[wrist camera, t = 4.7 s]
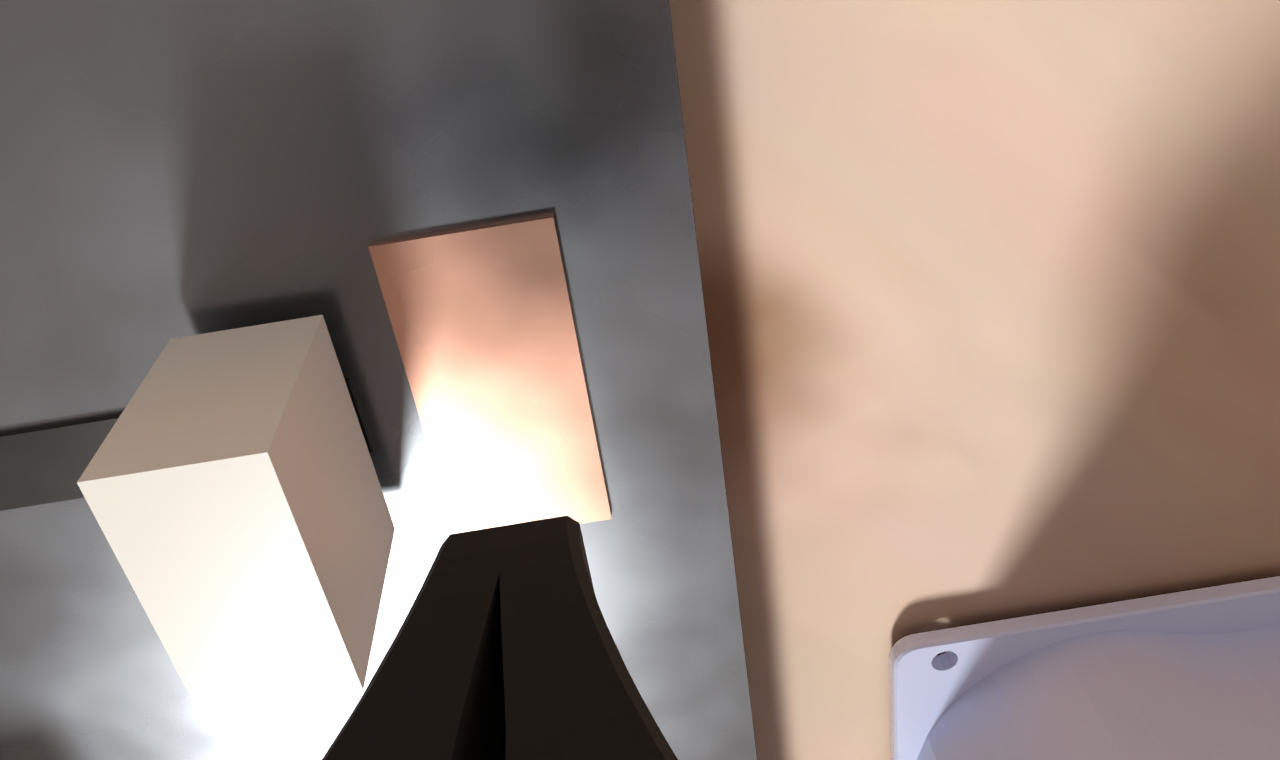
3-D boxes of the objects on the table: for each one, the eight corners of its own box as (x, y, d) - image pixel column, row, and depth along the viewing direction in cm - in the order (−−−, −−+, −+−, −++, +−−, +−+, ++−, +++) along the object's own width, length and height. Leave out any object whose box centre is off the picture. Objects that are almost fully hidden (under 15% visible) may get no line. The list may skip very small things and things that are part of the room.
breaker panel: (631, -210, 13) (645, -205, 11) (768, 912, 25) (785, 1000, 23) (-973, 47, 13) (-1225, 94, 11) (-39, 1039, 25) (-84, 1137, 23)
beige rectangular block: (322, 314, 13) (267, 452, 11) (394, 529, 15) (363, 690, 12) (169, 338, 13) (76, 482, 11) (261, 549, 15) (201, 716, 12)
